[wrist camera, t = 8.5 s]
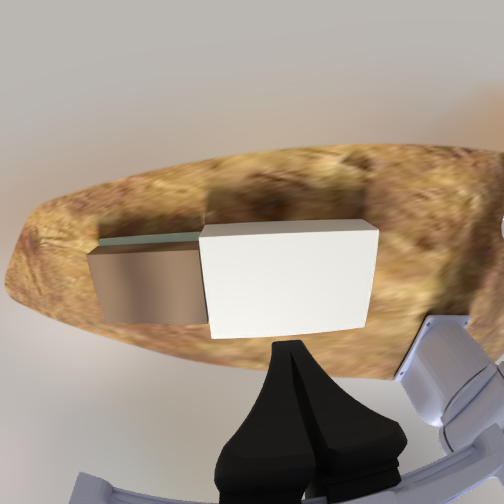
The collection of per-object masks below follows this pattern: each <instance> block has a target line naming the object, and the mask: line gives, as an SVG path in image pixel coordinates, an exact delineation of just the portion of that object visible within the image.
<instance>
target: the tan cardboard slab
mask: <svg viewBox="0 0 504 504" xmlns="http://www.w3.org/2000/svg"><path fill="white" fill-rule="evenodd" d="M86 257H87V261H88V265H89V269H90V273H91V277H92V280H93V284H94V287H95V291H96V294H97V298H98V301H99V304H100V307H101V310H102V314H103V317H104V320H105V321H106V322H124V323H151V324H208V320H209V316H208V309H207V301H206V294H205V287H204V279H203V271H202V263H201V254H200V245H199V241H181V242H162V243H144V244H126V245H109V246H97V247H96V248H95V249H93V250H92V251H91V252H90V253H88V254H87V255H86Z"/></svg>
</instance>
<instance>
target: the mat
mask: <svg viewBox="0 0 504 504" xmlns="http://www.w3.org/2000/svg"><path fill="white" fill-rule="evenodd" d="M200 234H201V232H185V233H170V234H155V235H141V236H127V237H114V238H102V239H99V244H100V246H109V245H126V244H144V243H162V242H181V241H199V236H200Z"/></svg>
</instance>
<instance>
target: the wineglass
mask: <svg viewBox="0 0 504 504" xmlns="http://www.w3.org/2000/svg"><path fill="white" fill-rule="evenodd" d="M501 233H502V236H503V238H504V214H503V218H502V223H501Z"/></svg>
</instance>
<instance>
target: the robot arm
mask: <svg viewBox="0 0 504 504" xmlns="http://www.w3.org/2000/svg"><path fill="white" fill-rule="evenodd" d="M469 321H470V316H469V315H428V316H427V317H426V319H425V321H424V323H423V325H422V327H421V329H420V331H419V333H418V335H417V337H416V339H415V341H414V343H413V345H412V347H411V349H410V351H409V352H408V354H407V356H406V358H405V360H404V361H403V363H402V365H401V367H400V368H399V370H398V372H397V373H396V375H395V377H394V381H395V382H401V384H402V386H403V388H404V389H405V391H406V393H407V395H408V397H409V398H410V400H411V402H412V404H413V406H414V408H415V410H416V412H417V413H418V415H419V416H420V417H421V419H423V420H424V421H425V422H426V423H428V424H430V425H433V426H441V428H440V431H439V444H440V447H441V450H442V452H443V454H444V455H445V457H443V458H441V459H439V460H437V461H435V462H433V463H430V464H428V465H426V466H424V467H421V468H419V469H417V470H414V471H411V472H409V473H406V474H404V475H401V476H400V474H399V471H398V468H397V467H398V466H399V462H398V459H397V457H398V456H399V455H400V454H401V452H402V451H403V450H404V448H405V447H406V445H407V438H406V436H405V433H404V432H403V430H402V428H401V427H400V425H399V424H398V422H396V421H393V420H391V419H389V418H386V417H384V416H382V415H380V414H378V413H376V412H374V411H373V410H370V409H369V408H367V407H366V406H364V405H363V404H361V403H360V402H358V401H357V400H355V399H354V398H353V397H351V396H350V395H349V394H348V393H346V392H345V391H344V390H343V389H342V388H340V387H339V386H338V385H337V384H336V383H335V382H334V381H333V380H332V379H331V378H330V377H329V376H328V375H327V374H326V372H325V371H324V370H323V369H322V368H321V367H320V365H319V364H318V363H317V362H316V361H315V359H314V358H313V357H312V355H311V354H310V353H309V351H308V350H307V348H306V347H305V345H304V343H303V342H302V341H301V340H289V341H276V342H273V343H272V355H271V361H270V365H269V369H268V373H267V376H266V379H265V381H264V384H263V387H262V389H261V392H260V394H259V396H258V398H257V400H256V402H255V404H254V406H253V407H252V409H251V411H250V413H249V414H248V416H247V418H246V419H245V421H244V422H243V423H242V425H241V426H240V427H239V429H238V430H237V432H236V433H235V434H234V435H233V436H232V438H231V439H230V440H229V441H228V442H227V443H226V444H225V446H224V447H223V449H222V451H221V454H220V456H219V458H218V461H217V464H216V468H215V476H214V477H215V478H214V481H215V485H216V487H217V489H218V490H219V492H220V497H219V504H450V503H451V502H453V501H455V500H457V499H458V498H460V497H462V496H463V495H465V494H466V493H468V492H469V491H471V490H472V489H474V488H476V487H477V486H479V485H480V484H481V483H483V482H484V481H486V480H487V479H488V478H497V479H498V480H499V482H500V484H501V485H502V487H503V489H504V361H502V362H501V363H500V364H499V365H496V364H495V362H494V361H493V360H492V359H491V358H490V357H489V356H488V354H487V353H486V352H485V351H484V350H483V349H482V348H481V347H480V345H479V344H478V343H477V342H476V341H475V340H474V339H473V338H472V337H471V336H470V335H469V334H468V333H467V331H466V330H465V329H466V327H467V325H468V323H469ZM427 323H428V324H427ZM304 492H305V500H301V499H302V497H303V494H304ZM69 504H217V503H201V502H191V501H182V500H174V499H167V498H161V497H155V496H150V495H145V494H140V493H136V492H132V491H127V490H123V489H119V488H116V487H113V486H112V485H111V484H110V483H109V482H108V481H106V480H104V479H101V478H98V477H96V476H92V475H89V474H87V473H84V472H79V475H78V477H77V480H76V483H75V486H74V489H73V492H72V496H71V499H70V502H69Z"/></svg>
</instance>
